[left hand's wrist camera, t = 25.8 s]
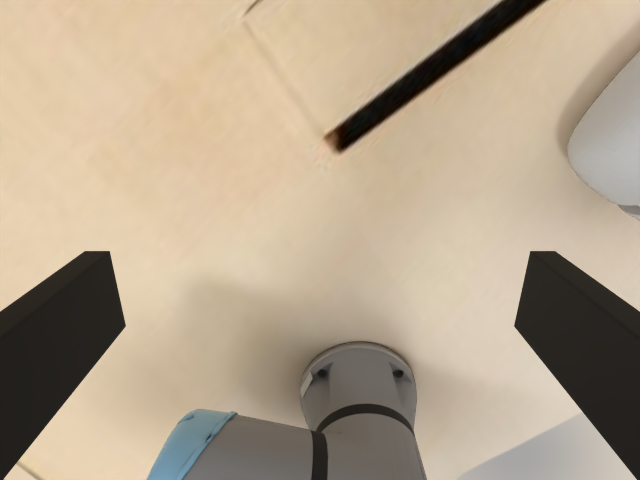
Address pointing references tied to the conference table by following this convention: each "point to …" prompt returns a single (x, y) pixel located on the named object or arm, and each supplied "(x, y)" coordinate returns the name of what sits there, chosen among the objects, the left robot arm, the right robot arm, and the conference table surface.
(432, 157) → the conference table surface
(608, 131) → the projector
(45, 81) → the conference table surface
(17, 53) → the conference table surface
